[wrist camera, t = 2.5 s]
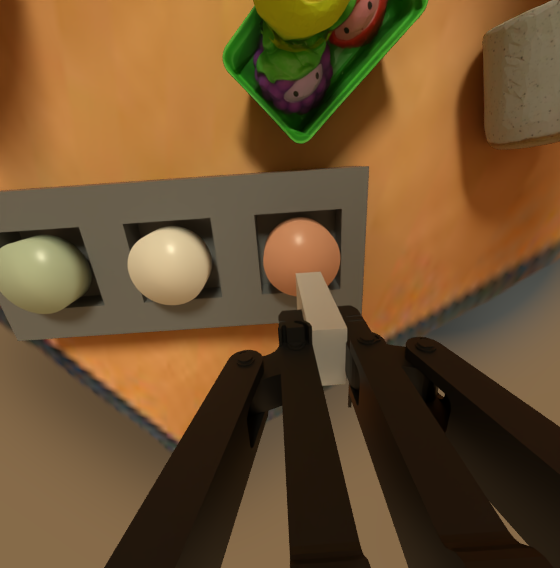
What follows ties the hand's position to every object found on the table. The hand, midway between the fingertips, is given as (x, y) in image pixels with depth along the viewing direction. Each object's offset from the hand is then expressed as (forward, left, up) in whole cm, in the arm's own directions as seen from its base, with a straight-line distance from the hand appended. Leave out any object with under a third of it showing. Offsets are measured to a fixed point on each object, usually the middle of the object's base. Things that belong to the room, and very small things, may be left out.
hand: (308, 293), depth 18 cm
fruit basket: (-15, +2, -12) cm, 19 cm away
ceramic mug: (-12, +19, -12) cm, 26 cm away
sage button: (0, -21, -8) cm, 22 cm away
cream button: (0, -10, -8) cm, 13 cm away
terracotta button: (0, 0, -8) cm, 8 cm away
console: (0, -10, -11) cm, 15 cm away
